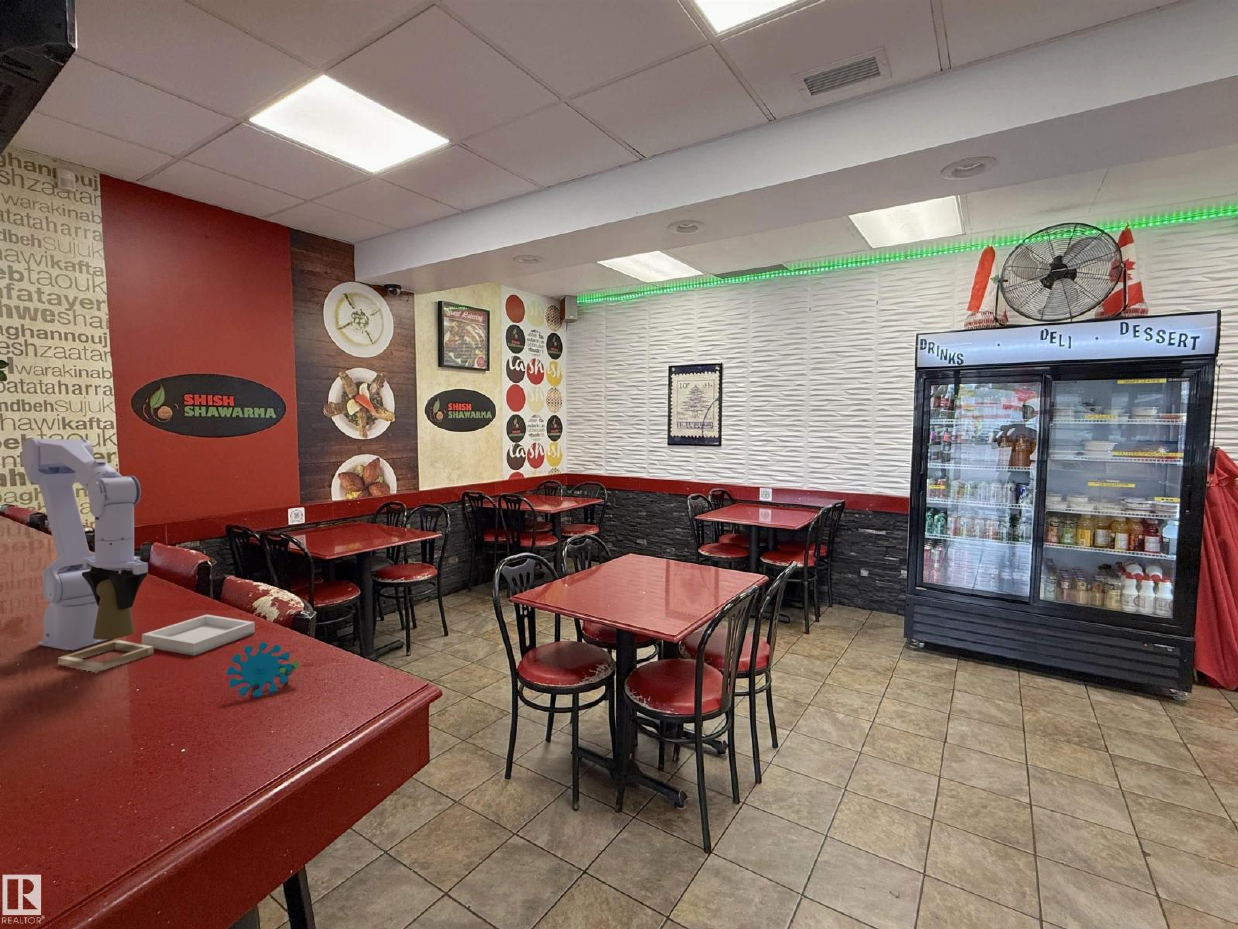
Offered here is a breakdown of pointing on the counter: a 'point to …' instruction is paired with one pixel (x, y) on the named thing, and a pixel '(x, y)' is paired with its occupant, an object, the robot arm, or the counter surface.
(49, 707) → the counter surface
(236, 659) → the gear
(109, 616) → the cork
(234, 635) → the tray
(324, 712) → the counter surface
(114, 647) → the collar
